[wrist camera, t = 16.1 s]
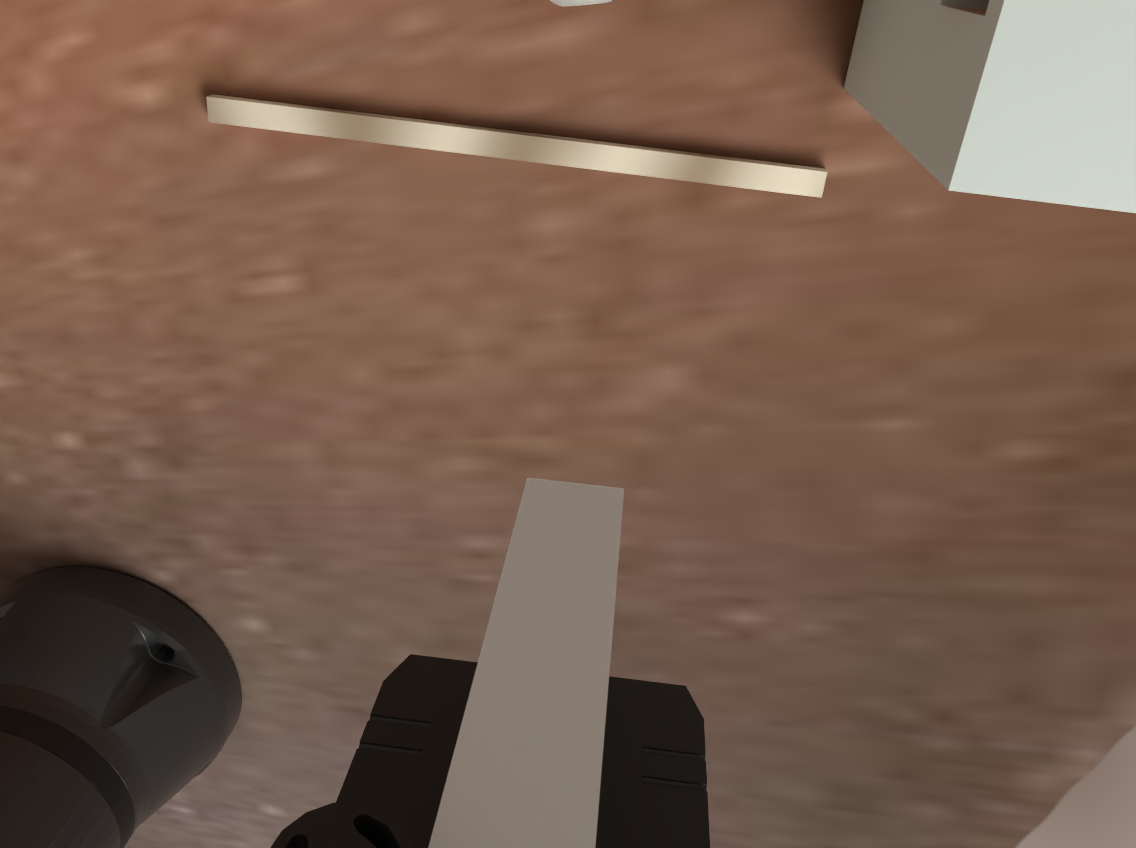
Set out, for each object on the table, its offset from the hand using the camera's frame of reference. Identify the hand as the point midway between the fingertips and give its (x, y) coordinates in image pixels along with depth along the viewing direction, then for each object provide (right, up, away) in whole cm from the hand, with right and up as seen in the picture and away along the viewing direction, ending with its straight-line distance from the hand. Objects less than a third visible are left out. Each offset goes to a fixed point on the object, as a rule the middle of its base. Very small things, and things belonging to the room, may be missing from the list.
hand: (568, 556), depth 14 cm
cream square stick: (-2, +13, +22) cm, 26 cm away
